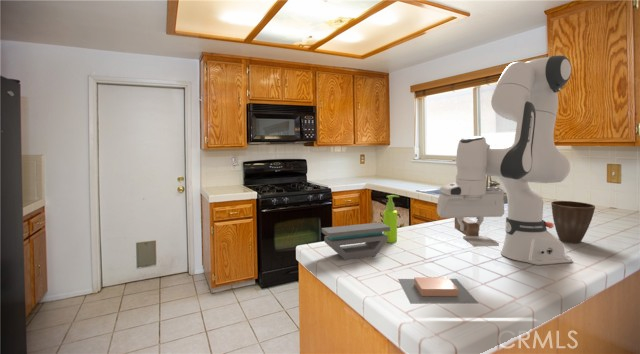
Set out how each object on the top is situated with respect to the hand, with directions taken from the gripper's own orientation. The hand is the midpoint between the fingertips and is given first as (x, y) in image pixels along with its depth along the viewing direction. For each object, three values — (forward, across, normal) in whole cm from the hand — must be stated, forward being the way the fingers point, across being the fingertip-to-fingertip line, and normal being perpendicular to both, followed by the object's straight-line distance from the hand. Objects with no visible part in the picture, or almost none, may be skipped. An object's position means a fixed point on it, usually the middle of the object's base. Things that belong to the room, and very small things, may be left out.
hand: (469, 230), depth 109 cm
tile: (+12, +15, +10) cm, 22 cm away
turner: (+2, 0, +1) cm, 2 cm away
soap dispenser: (+15, +18, -38) cm, 44 cm away
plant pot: (+16, -58, -36) cm, 70 cm away
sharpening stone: (+14, +35, -18) cm, 42 cm away
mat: (+14, +15, +13) cm, 25 cm away
